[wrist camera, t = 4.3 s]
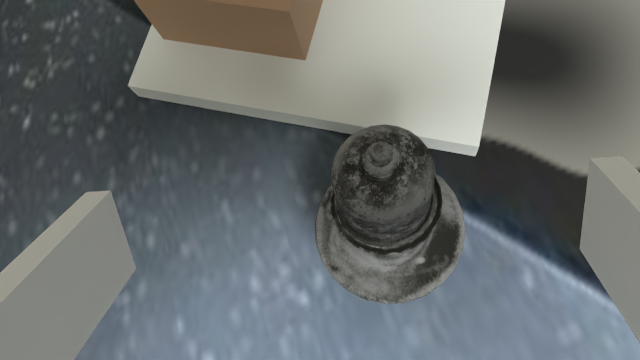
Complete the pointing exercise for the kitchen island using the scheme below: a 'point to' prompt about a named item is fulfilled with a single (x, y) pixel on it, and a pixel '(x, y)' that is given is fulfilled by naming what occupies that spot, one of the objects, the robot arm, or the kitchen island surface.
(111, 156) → the kitchen island surface
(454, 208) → the salt shaker
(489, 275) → the kitchen island surface
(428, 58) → the build board
